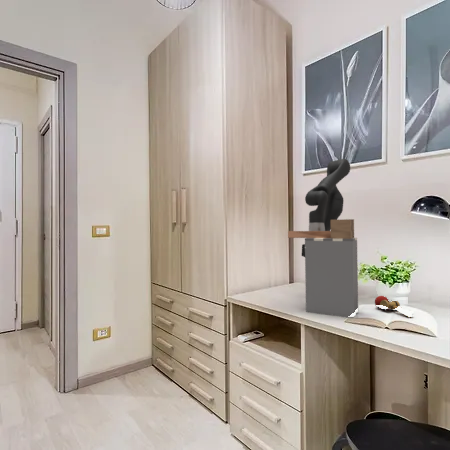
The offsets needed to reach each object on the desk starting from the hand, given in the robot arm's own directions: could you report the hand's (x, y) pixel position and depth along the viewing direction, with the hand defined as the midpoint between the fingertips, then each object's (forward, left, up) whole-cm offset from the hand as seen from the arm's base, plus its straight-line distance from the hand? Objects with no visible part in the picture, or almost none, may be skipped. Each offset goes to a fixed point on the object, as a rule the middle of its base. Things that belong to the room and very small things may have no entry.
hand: (316, 266), depth 158 cm
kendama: (-1, +33, -19) cm, 38 cm away
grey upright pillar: (+11, +9, -18) cm, 23 cm away
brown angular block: (+11, +4, +14) cm, 18 cm away
